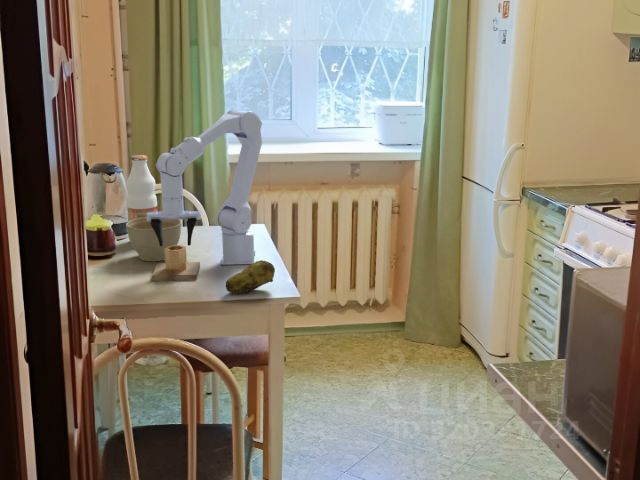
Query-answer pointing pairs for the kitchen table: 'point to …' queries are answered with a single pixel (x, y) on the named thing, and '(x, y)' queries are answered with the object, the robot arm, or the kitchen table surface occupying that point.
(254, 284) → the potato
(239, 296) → the kitchen table surface
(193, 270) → the pin block
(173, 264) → the octagonal wooden tube
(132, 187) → the white milk bottle
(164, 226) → the planter bowl
